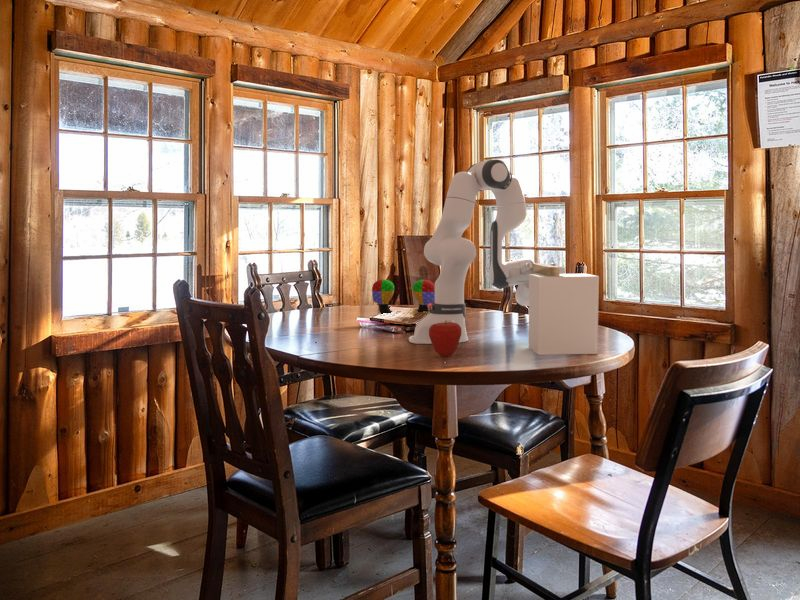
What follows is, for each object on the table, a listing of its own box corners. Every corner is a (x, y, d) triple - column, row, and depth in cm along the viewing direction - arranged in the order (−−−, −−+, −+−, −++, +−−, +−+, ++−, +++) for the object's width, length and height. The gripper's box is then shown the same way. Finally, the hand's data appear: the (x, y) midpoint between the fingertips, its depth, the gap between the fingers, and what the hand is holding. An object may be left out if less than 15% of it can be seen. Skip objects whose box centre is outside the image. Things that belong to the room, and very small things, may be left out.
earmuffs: (437, 323, 305) (436, 279, 303) (433, 326, 296) (433, 280, 294) (375, 322, 311) (374, 278, 308) (370, 325, 302) (369, 279, 300)
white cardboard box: (538, 354, 229) (539, 276, 226) (528, 347, 243) (529, 273, 240) (597, 353, 230) (599, 275, 227) (584, 346, 243) (585, 272, 241)
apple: (445, 351, 236) (445, 316, 235) (468, 355, 228) (468, 319, 227) (422, 355, 229) (421, 319, 227) (444, 360, 221) (444, 323, 219)
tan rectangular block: (549, 276, 226) (549, 267, 226) (531, 271, 250) (531, 263, 250) (559, 276, 226) (559, 267, 226) (541, 271, 250) (541, 263, 250)
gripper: (504, 274, 257) (511, 257, 244) (558, 273, 258) (567, 256, 245) (506, 289, 254) (512, 273, 242) (560, 289, 255) (570, 272, 242)
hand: (541, 265), depth 243 cm, fingers open, 8 cm apart
